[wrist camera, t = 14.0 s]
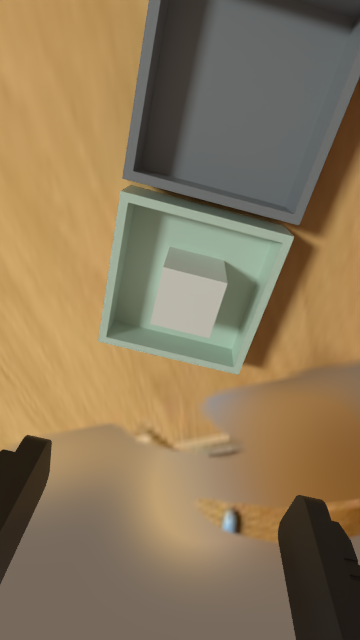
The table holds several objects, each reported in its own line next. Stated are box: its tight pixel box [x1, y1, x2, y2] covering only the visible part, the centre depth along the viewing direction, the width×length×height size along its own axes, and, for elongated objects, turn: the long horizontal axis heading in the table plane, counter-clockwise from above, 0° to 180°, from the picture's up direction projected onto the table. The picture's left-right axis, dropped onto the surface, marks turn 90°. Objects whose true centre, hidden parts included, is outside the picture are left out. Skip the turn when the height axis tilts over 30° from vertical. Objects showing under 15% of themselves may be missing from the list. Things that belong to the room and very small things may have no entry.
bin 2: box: [98, 185, 294, 375], centre depth 27 cm, size 12×12×4 cm
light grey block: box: [150, 247, 228, 338], centre depth 26 cm, size 4×4×5 cm
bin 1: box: [123, 0, 360, 225], centre depth 21 cm, size 12×12×4 cm
